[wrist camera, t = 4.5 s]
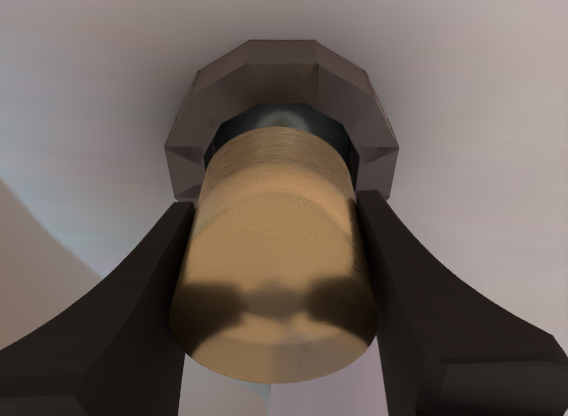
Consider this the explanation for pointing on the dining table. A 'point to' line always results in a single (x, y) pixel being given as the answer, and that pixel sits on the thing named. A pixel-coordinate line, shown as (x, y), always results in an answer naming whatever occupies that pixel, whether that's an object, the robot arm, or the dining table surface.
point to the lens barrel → (282, 111)
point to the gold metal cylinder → (275, 263)
